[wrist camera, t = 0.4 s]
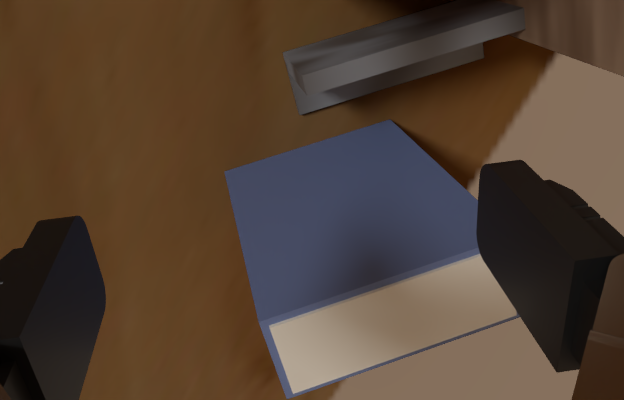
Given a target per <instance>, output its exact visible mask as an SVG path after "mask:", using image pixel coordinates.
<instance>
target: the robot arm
mask: <svg viewBox="0 0 624 400" xmlns="http://www.w3.org/2000/svg"><path fill="white" fill-rule="evenodd" d="M476 235H477V243H478V248H479V252H480V254H481V257H482V259H483V261H484V262H485V264H486V265H487V267H488V268H489V270H490V271H491V273H492V275H493V276H494V278H495V279H496V281H497V282H498V284H499V285H500V287H501V288H502V290H503V291H504V293H505V294H506V296H507V297H508V299H509V300H510V302H511V303H512V305H513V306H514V308H515V310H516V311H517V313H518V314H519V316H520V317H521V319H522V320H523V322H524V323H525V325H526V326H527V328H528V329H529V331H530V332H531V334H532V335H533V337H534V338H535V340H536V341H537V343H538V344H539V346H540V347H541V349H542V351H543V352H544V353H545V355H546V357H547V358H548V360H549V361H550V363H551V364H552V366H553V367H554V369H555V370H556V372H564V371H570V370H576V369H580V370H579V374H578V377H577V381H576V385H575V389H574V393H573V396H572V400H624V237H623V236H622V235H621V234H620V233H619V232H618V231H617V230H616V229H615V228H614V227H612V226H611V225H610V224H609V223H608V222H607V221H606V220H605V219H604V218H600V215H599V214H598V213H597V212H596V211H595V210H594V209H593V208H592V207H588V204H587V203H586V202H585V201H584V200H583V199H582V198H581V197H580V196H579V195H577V194H576V193H575V192H574V191H573V190H571V189H569V188H567V187H565V186H562V185H560V184H558V183H556V182H554V181H552V180H545V181H544V180H543V179H542V178H540V176H539V175H537V174H536V173H535V172H534V171H533V170H532V169H531V168H530V167H529V166H528V165H527V164H526V163H525V162H524V161H522V160H515V161H508V162H501V163H492V164H485V165H484V166H483V167H482V169H481V172H480V179H479V196H478V211H477V228H476ZM105 304H106V295H105V286H104V282H103V278H102V275H101V272H100V268H99V265H98V262H97V259H96V256H95V252H94V249H93V246H92V243H91V240H90V236H89V233H88V230H87V227H86V224H85V222H84V220H83V219H82V218H81V217H80V216H72V217H64V218H56V219H48V220H41V221H38V222H37V224H36V225H35V227H34V229H33V231H32V232H31V234H30V236H29V238H28V239H27V241H26V243H25V245H24V246H23V248H18V249H13V250H12V251H11V252H9V253H8V254H7V255H6V256H4V257H3V258H2V259H1V260H0V400H79V397H80V393H81V390H82V386H83V383H84V380H85V376H86V373H87V369H88V366H89V363H90V359H91V356H92V352H93V349H94V346H95V342H96V339H97V335H98V332H99V329H100V325H101V322H102V318H103V315H104V311H105Z"/></svg>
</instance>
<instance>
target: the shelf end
mask: <svg viewBox="0 0 624 400" xmlns="http://www.w3.org/2000/svg"><path fill="white" fill-rule="evenodd" d="M507 34H508V35H511V36H513V37H516V38H519V39H522V40H524V41H527V42H530V43H533V44H535V45H538V46H541V47H544V48H546V49H549V50H552V51H555V52H558V53H560V54H563V55H566V56H569V57H571V58H574V59H577V60H580V61H583V62H585V63H588V64H591V65H593V66H596V67H599V68H602V69H605V70H607V71H610V72H613V73H616V74H618V75H621V76H624V0H456V1H453V2H449V3H446V4H443V5H439V6H436V7H433V8H429V9H426V10H423V11H419V12H416V13H413V14H409V15H406V16H403V17H399V18H396V19H393V20H389V21H386V22H383V23H379V24H376V25H373V26H370V27H366V28H363V29H360V30H356V31H353V32H350V33H346V34H343V35H340V36H336V37H333V38H330V39H326V40H323V41H320V42H316V43H313V44H310V45H306V46H303V47H300V48H296V49H293V50H290V51H286V52H283V55H284V59H285V63H286V67H287V71H288V74H289V78H290V82H291V86H292V89H293V93H294V97H295V101H296V104H297V108H298V112H299V114H300V115H302V114H305V113H308V112H312V111H315V110H318V109H321V108H324V107H328V106H331V105H334V104H337V103H341V102H344V101H347V100H350V99H353V98H357V97H360V96H363V95H366V94H370V93H373V92H376V91H379V90H382V89H386V88H389V87H392V86H395V85H399V84H402V83H405V82H408V81H411V80H415V79H418V78H421V77H424V76H428V75H431V74H434V73H437V72H440V71H444V70H447V69H450V68H453V67H456V66H460V65H463V64H466V63H469V62H473V61H476V60H479V59H482V58H484V51H483V42H485V41H488V40H491V39H494V38H498V37H501V36H504V35H507Z"/></svg>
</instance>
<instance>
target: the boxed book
mask: <svg viewBox="0 0 624 400" xmlns="http://www.w3.org/2000/svg"><path fill="white" fill-rule="evenodd" d="M225 176H226V181H227V185H228V189H229V194H230V198H231V203H232V207H233V211H234V216H235V220H236V224H237V229H238V233H239V238H240V242H241V246H242V251H243V255H244V260H245V264H246V268H247V273H248V277H249V281H250V286H251V290H252V295H253V299H254V303H255V308H256V312H257V317H258V321H259V324H260V327H261V330H262V332H263V335H264V338H265V340H266V343H267V346H268V349H269V351H270V354H271V357H272V360H273V362H274V365H275V368H276V371H277V373H278V376H279V379H280V382H281V384H282V387H283V390H284V392H285V395H286V398H287V399H289V398H292V397H295V396H298V395H300V394H303V393H306V392H309V391H312V390H315V389H317V388H320V387H323V386H326V385H329V384H332V383H334V382H337V381H340V380H343V379H346V378H349V377H352V376H354V375H357V374H360V373H363V372H366V371H368V370H371V369H374V368H377V367H380V366H383V365H386V364H388V363H391V362H394V361H397V360H400V359H403V358H405V357H408V356H411V355H414V354H417V353H419V352H422V351H425V350H428V349H431V348H434V347H436V346H439V345H442V344H445V343H448V342H451V341H453V340H456V339H459V338H462V337H464V336H468V335H471V334H473V333H476V332H479V331H481V330H485V329H488V328H490V327H493V326H496V325H499V324H502V323H504V322H507V321H510V320H513V319H516V318H518V317H520V316H519V314H518V313H517V311H516V310H515V308H514V306H513V305H512V303H511V302H510V300H509V299H508V297H507V296H506V294H505V293H504V291H503V290H502V288H501V287H500V285H499V284H498V282H497V281H496V279H495V278H494V276H493V275H492V273H491V271H490V270H489V268H488V267H487V265H486V264H485V262H484V261H483V259H482V257H481V254H480V252H479V248H478V243H477V235H476V228H477V211H478V200H477V199H475V198H474V197H473V196H472V195H471V194H470V193H469V192H468V191H467V190H466V189H465V188H464V187H463V186H462V185H460V184H459V183H458V182H457V181H456V180H455V179H454V178H453V177H452V176H451V175H450V174H449V173H447V172H446V171H445V170H444V169H443V168H442V167H441V166H440V165H439V164H438V163H437V162H436V161H435V160H433V159H432V158H431V157H430V156H429V155H428V154H427V153H426V152H425V151H424V150H423V149H422V148H420V147H419V146H418V145H417V144H416V143H415V142H414V141H413V140H412V139H411V138H410V137H409V136H408V135H406V134H405V133H404V132H403V131H402V130H401V129H400V128H399V127H398V126H397V125H396V124H395V123H393V122H392V121H391V120H387V121H383V122H380V123H377V124H374V125H371V126H367V127H364V128H361V129H358V130H355V131H352V132H348V133H345V134H342V135H339V136H336V137H333V138H329V139H326V140H323V141H320V142H317V143H314V144H310V145H307V146H304V147H301V148H298V149H295V150H291V151H288V152H285V153H282V154H279V155H276V156H272V157H269V158H266V159H263V160H260V161H257V162H253V163H250V164H247V165H244V166H241V167H238V168H234V169H231V170H228V171H225Z"/></svg>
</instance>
